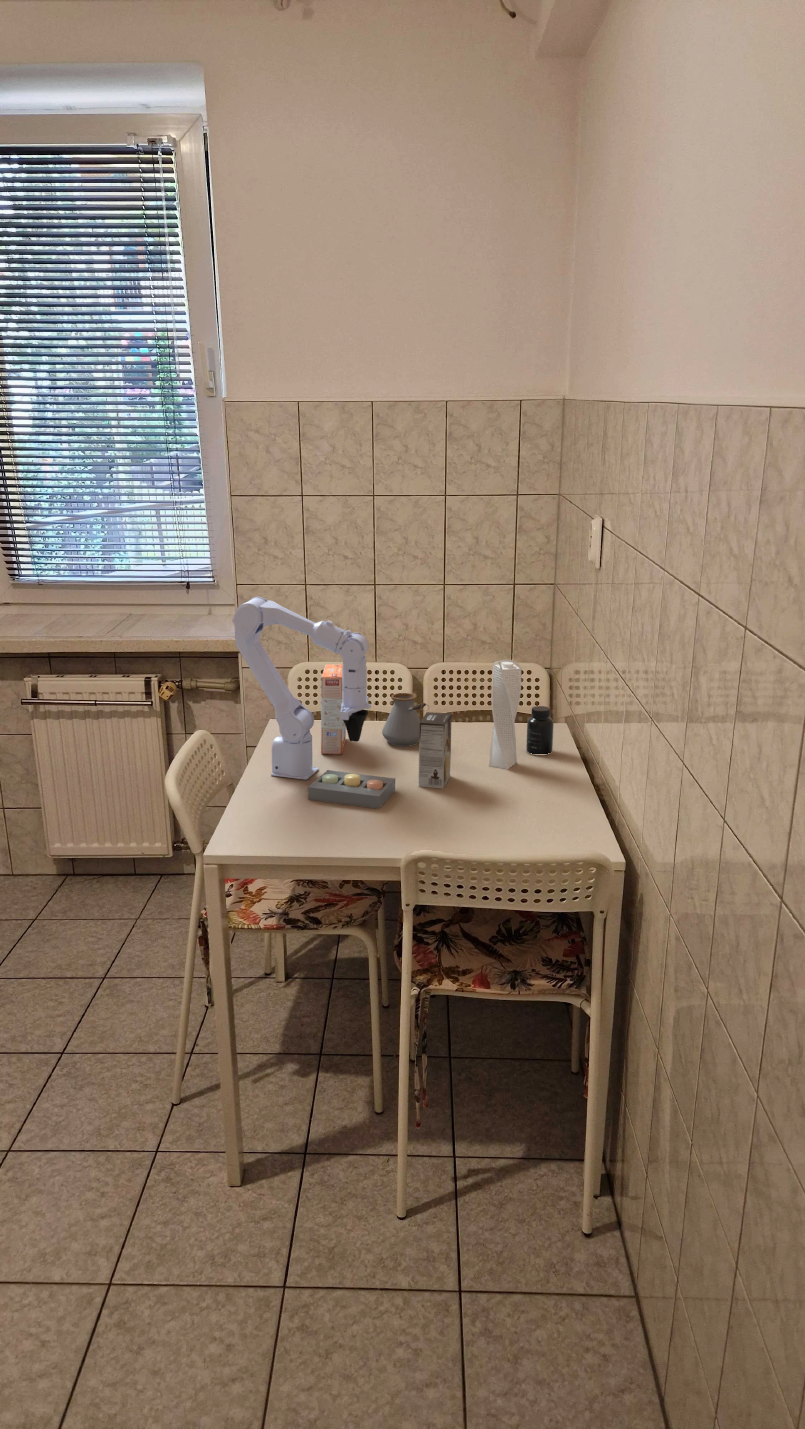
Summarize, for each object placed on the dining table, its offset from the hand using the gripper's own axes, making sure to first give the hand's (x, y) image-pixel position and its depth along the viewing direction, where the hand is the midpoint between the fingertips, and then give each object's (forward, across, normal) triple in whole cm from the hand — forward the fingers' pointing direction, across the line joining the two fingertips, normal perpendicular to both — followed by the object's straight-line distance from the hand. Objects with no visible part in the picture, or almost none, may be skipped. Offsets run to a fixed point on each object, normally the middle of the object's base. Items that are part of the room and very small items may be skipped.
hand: (354, 740), depth 239 cm
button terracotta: (+9, -11, -9) cm, 17 cm away
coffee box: (+10, +4, -19) cm, 22 cm away
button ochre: (+8, -11, -4) cm, 14 cm away
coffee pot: (+10, +26, -6) cm, 28 cm away
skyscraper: (+10, +21, -32) cm, 39 cm away
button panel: (+9, -11, -4) cm, 15 cm away
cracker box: (+10, +20, +13) cm, 26 cm away
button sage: (+9, -11, +2) cm, 14 cm away
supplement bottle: (+10, +34, -39) cm, 53 cm away
